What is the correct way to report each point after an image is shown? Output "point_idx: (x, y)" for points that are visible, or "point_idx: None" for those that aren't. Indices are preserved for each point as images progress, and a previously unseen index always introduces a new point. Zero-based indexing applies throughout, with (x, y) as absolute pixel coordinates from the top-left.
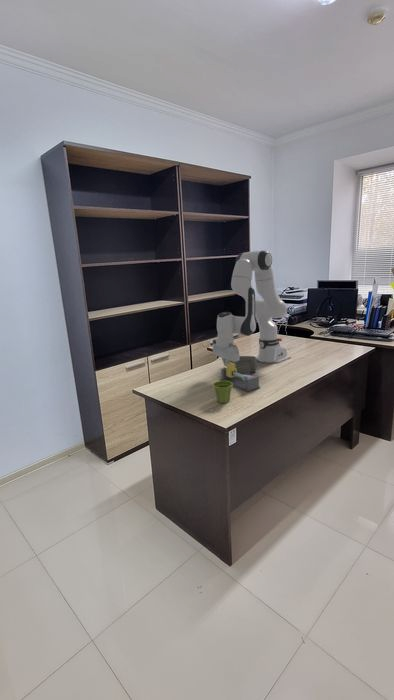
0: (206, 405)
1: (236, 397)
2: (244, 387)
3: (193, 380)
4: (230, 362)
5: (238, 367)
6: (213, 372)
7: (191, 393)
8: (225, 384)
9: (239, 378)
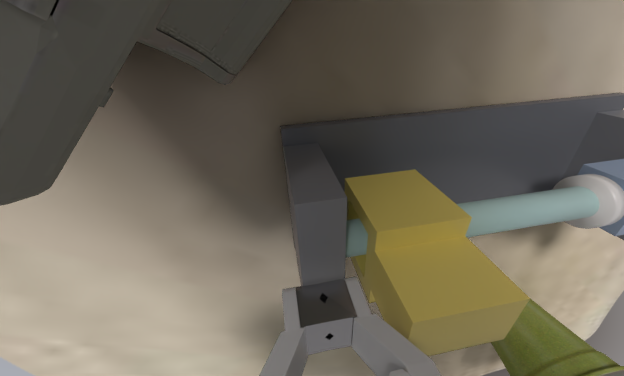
0: (471, 350)
1: (533, 264)
2: (526, 190)
3: (198, 348)
4: (425, 330)
5: (265, 20)
6: (57, 213)
7: (352, 369)
8: (556, 364)
9: (389, 119)
